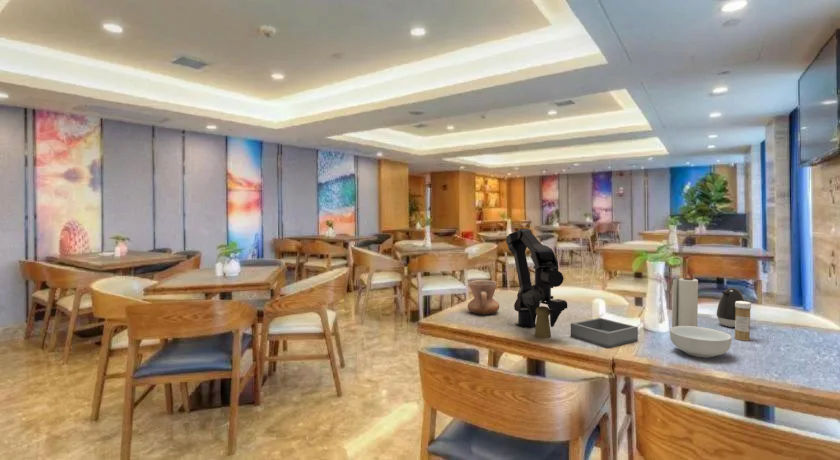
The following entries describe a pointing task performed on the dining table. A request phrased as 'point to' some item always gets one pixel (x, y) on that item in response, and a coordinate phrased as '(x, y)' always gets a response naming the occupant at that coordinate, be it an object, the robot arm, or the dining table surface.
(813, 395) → the dining table surface
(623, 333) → the tray
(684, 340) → the cereal bowl
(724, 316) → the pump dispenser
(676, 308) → the grey tall block
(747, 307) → the sprinkles bottle
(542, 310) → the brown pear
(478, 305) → the ceramic jug
